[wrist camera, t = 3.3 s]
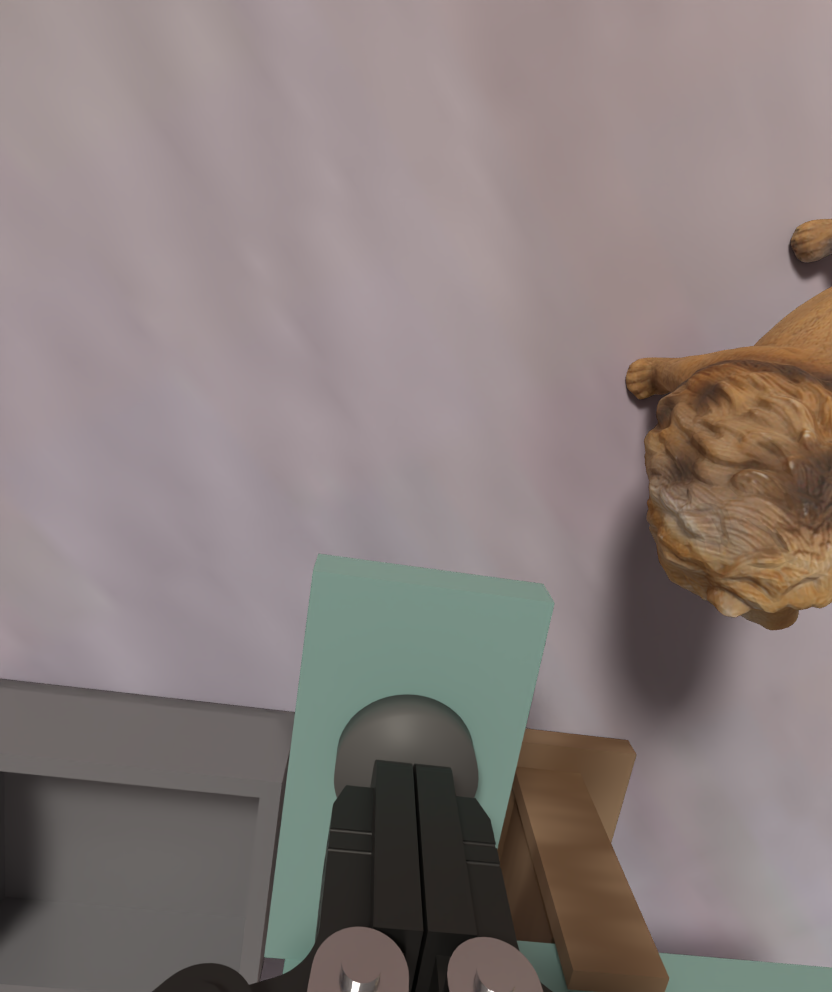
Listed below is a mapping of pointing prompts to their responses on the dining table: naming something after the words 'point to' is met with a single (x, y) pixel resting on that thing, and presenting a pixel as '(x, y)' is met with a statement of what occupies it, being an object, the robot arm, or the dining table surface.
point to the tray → (134, 836)
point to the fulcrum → (576, 862)
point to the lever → (430, 731)
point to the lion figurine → (748, 462)
